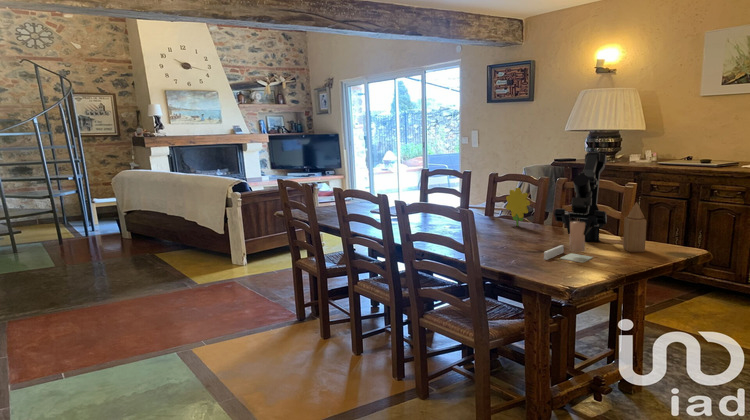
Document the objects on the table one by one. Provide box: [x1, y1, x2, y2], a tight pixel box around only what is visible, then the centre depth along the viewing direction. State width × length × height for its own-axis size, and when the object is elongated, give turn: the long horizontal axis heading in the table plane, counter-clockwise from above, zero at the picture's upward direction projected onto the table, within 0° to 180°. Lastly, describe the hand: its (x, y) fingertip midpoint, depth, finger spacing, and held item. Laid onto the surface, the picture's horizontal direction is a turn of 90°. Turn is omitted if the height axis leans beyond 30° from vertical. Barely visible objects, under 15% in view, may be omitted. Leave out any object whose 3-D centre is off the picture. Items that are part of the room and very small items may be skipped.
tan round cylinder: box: [568, 220, 586, 253], centre depth 188 cm, size 6×6×11 cm
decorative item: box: [505, 187, 531, 227], centre depth 252 cm, size 16×1×20 cm, turn 30°
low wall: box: [543, 244, 565, 261], centre depth 193 cm, size 14×1×3 cm, turn 133°
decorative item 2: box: [622, 201, 647, 253], centre depth 196 cm, size 7×7×20 cm
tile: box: [559, 253, 594, 264], centre depth 189 cm, size 9×9×1 cm
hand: (576, 234), depth 186 cm, fingers closed on tan round cylinder, 5 cm apart
